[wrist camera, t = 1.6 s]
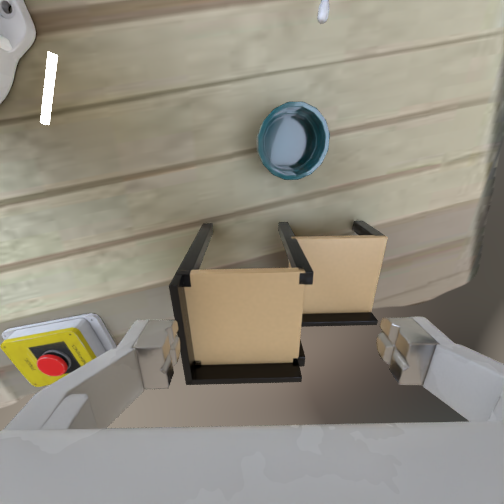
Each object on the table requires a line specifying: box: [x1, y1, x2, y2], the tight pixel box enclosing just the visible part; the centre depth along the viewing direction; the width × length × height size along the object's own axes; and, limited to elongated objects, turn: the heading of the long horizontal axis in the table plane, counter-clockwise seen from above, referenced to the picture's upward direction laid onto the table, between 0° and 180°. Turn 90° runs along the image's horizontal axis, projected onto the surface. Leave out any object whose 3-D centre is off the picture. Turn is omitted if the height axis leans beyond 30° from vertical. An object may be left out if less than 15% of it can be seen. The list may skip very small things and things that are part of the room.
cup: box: [257, 102, 330, 180], centre depth 25 cm, size 7×7×5 cm
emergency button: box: [1, 313, 117, 387], centre depth 36 cm, size 9×4×15 cm
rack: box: [169, 221, 388, 385], centre depth 26 cm, size 10×20×15 cm, turn 91°
